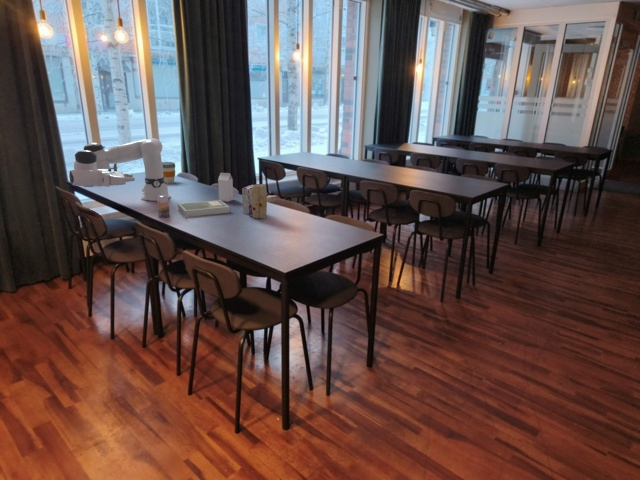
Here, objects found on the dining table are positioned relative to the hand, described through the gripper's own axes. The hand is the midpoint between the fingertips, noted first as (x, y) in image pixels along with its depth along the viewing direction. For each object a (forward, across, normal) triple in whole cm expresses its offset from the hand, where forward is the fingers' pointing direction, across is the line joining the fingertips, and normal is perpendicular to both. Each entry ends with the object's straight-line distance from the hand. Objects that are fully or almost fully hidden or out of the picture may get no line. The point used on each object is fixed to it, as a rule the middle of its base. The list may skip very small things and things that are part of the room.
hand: (133, 177), depth 229 cm
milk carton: (+58, -24, -21) cm, 66 cm away
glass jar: (+15, 0, -23) cm, 27 cm away
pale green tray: (+38, -1, -21) cm, 44 cm away
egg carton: (+45, -1, -20) cm, 49 cm away
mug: (-10, -113, -25) cm, 116 cm away
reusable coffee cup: (+34, -99, -22) cm, 107 cm away
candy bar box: (+64, +10, -20) cm, 67 cm away
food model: (+65, +22, -20) cm, 71 cm away
